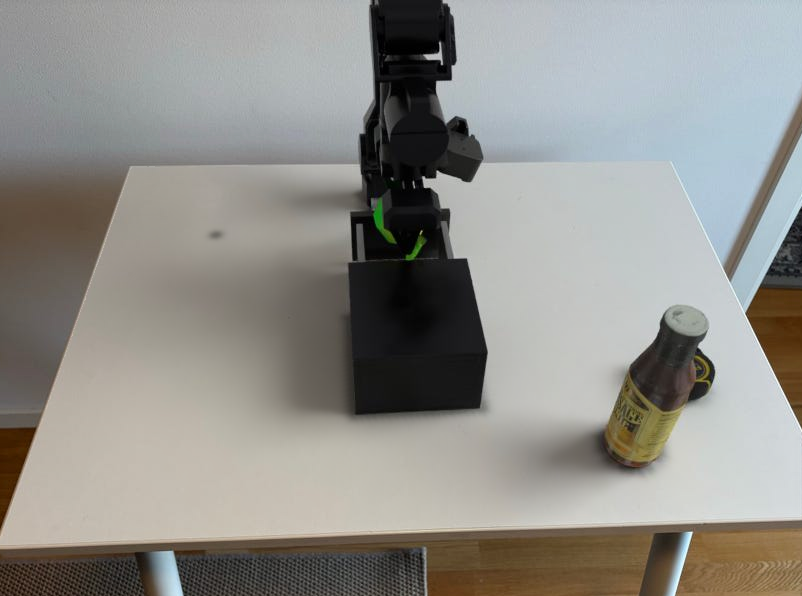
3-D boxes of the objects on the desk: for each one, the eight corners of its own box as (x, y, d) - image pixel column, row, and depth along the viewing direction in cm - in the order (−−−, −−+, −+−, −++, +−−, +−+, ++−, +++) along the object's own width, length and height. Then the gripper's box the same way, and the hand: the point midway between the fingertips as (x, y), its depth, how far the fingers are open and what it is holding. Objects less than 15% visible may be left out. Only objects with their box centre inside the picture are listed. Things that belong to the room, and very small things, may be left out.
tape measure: (691, 361, 90) (701, 339, 87) (717, 403, 86) (728, 382, 83) (638, 367, 89) (646, 345, 86) (661, 411, 85) (670, 389, 82)
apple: (382, 173, 89) (426, 209, 84) (415, 190, 94) (458, 226, 89) (351, 223, 91) (392, 261, 86) (384, 237, 96) (424, 275, 91)
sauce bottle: (595, 426, 83) (639, 291, 68) (650, 423, 83) (705, 289, 69) (610, 475, 78) (661, 342, 64) (668, 472, 79) (731, 339, 64)
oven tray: (350, 234, 104) (348, 189, 99) (442, 231, 105) (445, 187, 100) (356, 330, 91) (354, 284, 86) (460, 325, 92) (465, 280, 87)
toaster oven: (350, 319, 94) (347, 262, 87) (461, 314, 95) (467, 257, 88) (355, 414, 83) (352, 358, 76) (480, 408, 84) (488, 352, 78)
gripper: (495, 160, 74) (481, 280, 85) (468, 73, 87) (459, 187, 98) (383, 163, 73) (384, 284, 84) (373, 75, 86) (375, 190, 97)
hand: (404, 233), depth 91 cm, fingers closed on apple, 8 cm apart
